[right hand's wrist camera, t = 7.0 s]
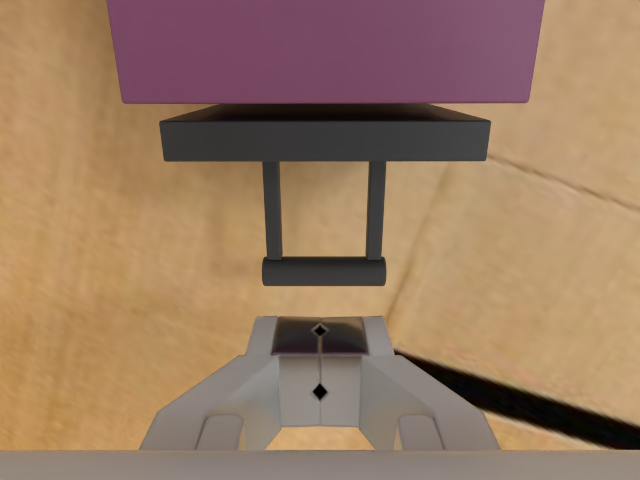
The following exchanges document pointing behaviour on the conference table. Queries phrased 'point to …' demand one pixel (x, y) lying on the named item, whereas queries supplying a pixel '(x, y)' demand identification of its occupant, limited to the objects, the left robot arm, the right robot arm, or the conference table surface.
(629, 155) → the conference table surface
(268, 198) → the drawer
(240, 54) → the cabinet
